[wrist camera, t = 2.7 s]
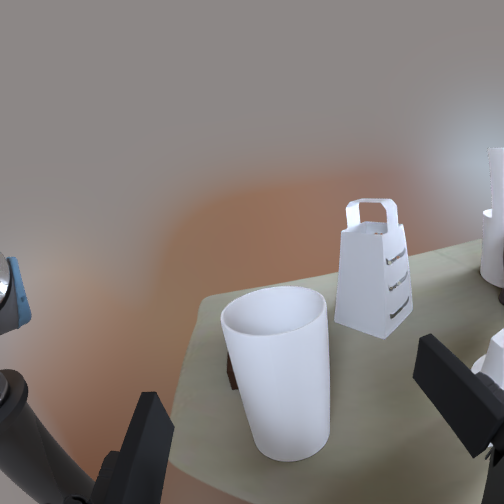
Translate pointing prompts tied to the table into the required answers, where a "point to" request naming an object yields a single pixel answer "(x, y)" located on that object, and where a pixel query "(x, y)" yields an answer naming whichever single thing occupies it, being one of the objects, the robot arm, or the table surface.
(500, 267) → the cylinder
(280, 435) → the cup
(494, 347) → the base with upright slab
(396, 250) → the grater
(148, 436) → the robot arm
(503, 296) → the mortar and pestle
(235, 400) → the table surface
